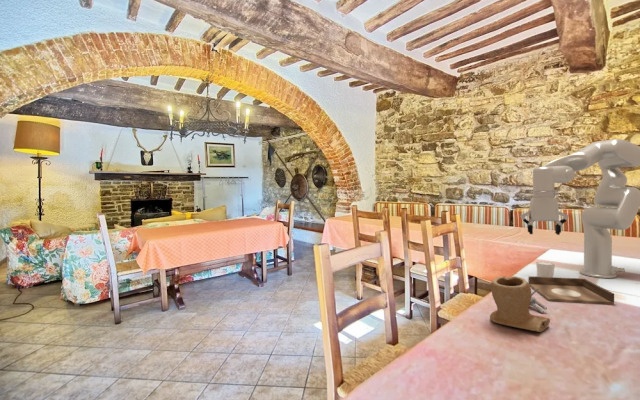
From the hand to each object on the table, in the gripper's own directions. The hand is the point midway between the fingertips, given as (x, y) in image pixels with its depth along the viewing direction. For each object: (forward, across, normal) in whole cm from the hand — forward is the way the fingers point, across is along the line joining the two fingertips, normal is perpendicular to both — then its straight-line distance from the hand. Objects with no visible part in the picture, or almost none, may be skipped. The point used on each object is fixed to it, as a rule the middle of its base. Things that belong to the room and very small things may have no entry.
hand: (544, 234), depth 133 cm
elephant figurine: (+21, +12, +35) cm, 43 cm away
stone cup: (+21, +19, +52) cm, 60 cm away
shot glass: (+22, -2, -5) cm, 22 cm away
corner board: (+21, -4, +16) cm, 27 cm away
